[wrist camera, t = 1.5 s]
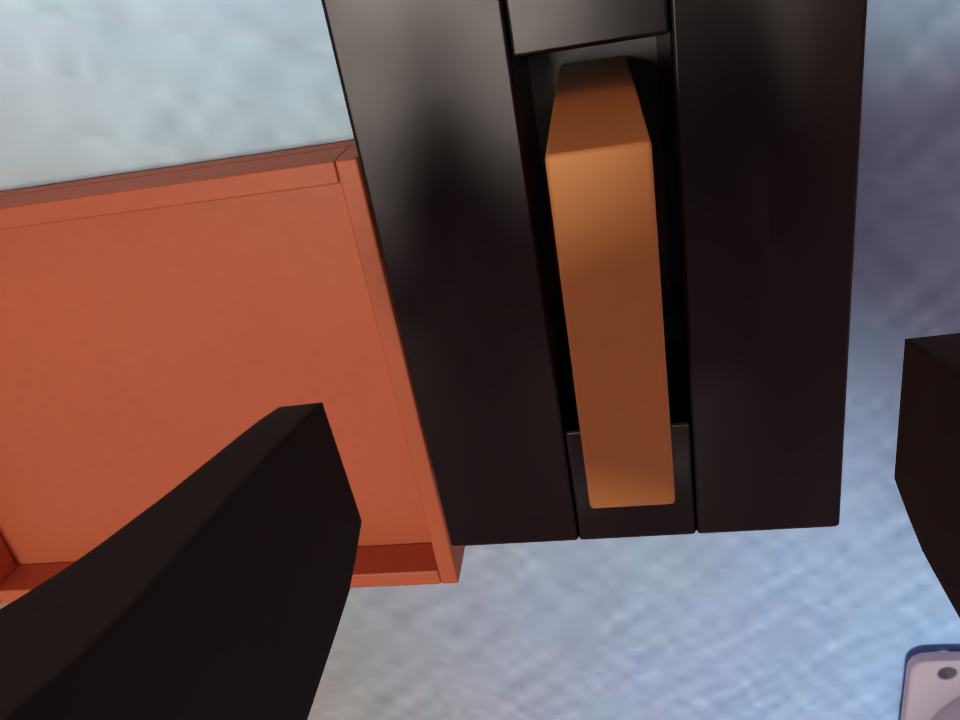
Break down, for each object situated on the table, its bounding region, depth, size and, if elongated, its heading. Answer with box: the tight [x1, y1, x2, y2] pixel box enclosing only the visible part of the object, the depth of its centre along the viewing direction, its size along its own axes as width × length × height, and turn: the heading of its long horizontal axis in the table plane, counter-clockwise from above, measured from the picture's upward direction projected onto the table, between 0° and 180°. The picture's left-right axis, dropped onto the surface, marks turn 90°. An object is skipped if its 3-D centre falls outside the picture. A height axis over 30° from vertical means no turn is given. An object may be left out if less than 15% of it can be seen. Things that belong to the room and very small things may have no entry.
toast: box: [545, 56, 675, 508], centre depth 15 cm, size 1×6×7 cm, turn 10°
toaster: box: [321, 0, 867, 546], centre depth 17 cm, size 9×14×4 cm, turn 10°
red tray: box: [0, 140, 465, 603], centre depth 22 cm, size 15×12×2 cm
